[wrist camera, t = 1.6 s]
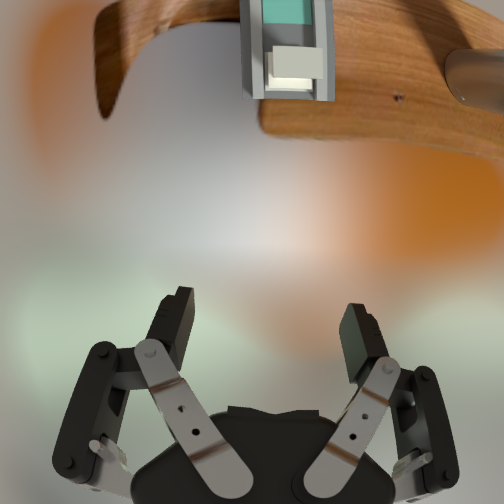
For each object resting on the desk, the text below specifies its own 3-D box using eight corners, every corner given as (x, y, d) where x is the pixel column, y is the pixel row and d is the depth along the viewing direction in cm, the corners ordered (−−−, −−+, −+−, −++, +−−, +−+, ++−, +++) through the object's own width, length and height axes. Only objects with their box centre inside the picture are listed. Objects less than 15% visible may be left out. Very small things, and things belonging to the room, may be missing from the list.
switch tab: (268, 53, 26) (267, 37, 17) (309, 55, 25) (327, 40, 17) (268, 88, 28) (268, 85, 19) (310, 89, 28) (327, 88, 19)
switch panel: (240, -10, 22) (237, -20, 19) (328, -7, 22) (334, -16, 18) (244, 98, 31) (241, 99, 28) (331, 100, 30) (338, 101, 27)
